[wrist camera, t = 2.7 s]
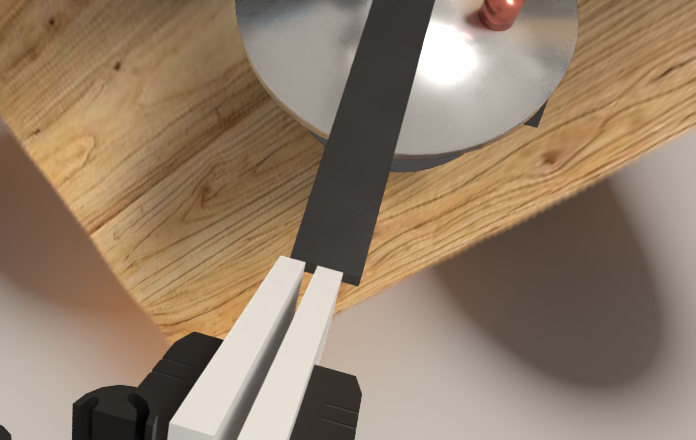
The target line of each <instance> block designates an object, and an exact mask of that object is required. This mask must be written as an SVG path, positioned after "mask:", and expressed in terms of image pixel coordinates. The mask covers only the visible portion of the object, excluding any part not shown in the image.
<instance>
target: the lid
mask: <svg viewBox="0 0 696 440" xmlns="http://www.w3.org/2000/svg"><path fill="white" fill-rule="evenodd" d="M235 9H236V15H237V22H238V28H239V32H240V36H241V39H242V43H243V46H244V49H245V52H246V56H247V59H248V61H249V63H250V65H251V67H252V69H253V71H254V73H255V75H256V77H257V79H258V80H259V81H260V83H261V84H262V86H263V87H264V89H265V90H266V91H267V93H268V94H269V95H270V96H271V97H272V99H273V100H274V101H275V102H276V103H277V104H278V105H279V106H280V107H281V108H282V109H283V110H284V111H285V112H286V113H288V114H289V115H290V116H291V117H292V118H294V119H295V120H296V121H297V122H299V123H300V124H301V125H303V126H304V127H306V128H308V129H309V130H311V131H312V132H314V133H316V134H317V135H319V136H321V137H323V138H325V139H327V140H328V141H327V144H326V147H325V150H324V154H323V157H322V160H321V163H320V166H319V169H318V172H317V175H316V179H315V182H314V185H313V188H312V191H311V194H310V197H309V200H308V203H307V207H306V210H305V213H304V216H303V219H302V222H301V225H300V228H299V231H298V235H297V238H296V241H295V244H294V247H293V250H292V253H291V256H290V258H291V259H295V260H299V261H302V262H306V263H305V268H304V272H308V273H311V274H314V273H315V271H316V269H317V266H320V267H324V268H328V269H331V270H335V271H339V272H342V273H343V276H342V280H341V282H344V283H348V284H351V285H355V286H359V283H360V280H361V276H362V273H363V269H364V265H365V261H366V258H367V254H368V250H369V246H370V243H371V239H372V235H373V231H374V228H375V224H376V220H377V216H378V213H379V209H380V205H381V201H382V198H383V194H384V190H385V186H386V183H387V179H388V175H389V171H390V168H391V164H392V160H393V159H406V160H422V159H438V158H444V157H450V156H456V155H461V154H464V153H467V152H471V151H474V150H477V149H481V148H483V147H485V146H487V145H490V144H492V143H494V142H496V141H499V140H501V139H502V138H504V137H505V136H507V135H509V134H510V133H512V132H513V131H515V130H517V129H518V128H519V127H521V126H522V125H523V124H524V123H525V122H526V121H528V120H529V119H530V118H531V117H532V116H534V114H535V113H536V112H537V111H538V110H539V109H540V108H541V106H542V105H543V104H544V103H545V102H546V101H547V99H548V98H549V97H550V95H551V94H552V93H553V92H554V90H555V89H556V88H557V86H558V84H559V83H560V81H561V80H562V78H563V76H564V75H565V73H566V71H567V69H568V67H569V64H570V62H571V59H572V57H573V54H574V50H575V46H576V42H577V37H578V22H579V16H578V7H577V0H236V1H235Z"/></svg>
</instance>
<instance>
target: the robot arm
mask: <svg viewBox="0 0 696 440" xmlns="http://www.w3.org/2000/svg"><path fill="white" fill-rule="evenodd" d="M305 263H306V262H302V261H299V260H295V259H291V258H288V257H284V256H281V255H280V257H279V258H278V260H277V261H276V263H275V264H274V266H273V267H272V269H271V270H270V272H269V273H268V275H267V276H266V278H265V279H264V281H263V282H262V284H261V285H260V287H259V288H258V290H257V291H256V293H255V295H254V296H253V298H252V299H251V301H250V302H249V304H248V305H247V307H246V308H245V310H244V311H243V313H242V314H241V316H240V317H239V319H238V320H237V322H236V323H235V325H234V326H233V328H232V329H231V331H230V332H229V334H228V335H227V337H226V338H225V340H222V339H219V338H215V337H212V336H208V335H205V334H201V333H198V332H192V333H190V334H189V335H187V336H185V337H183V338H181V339H179V340H178V341H176V342H175V343H174V344H173V345H172V346H171V348H170V349H169V350H168V351H167V352H166V354H165V355H164V356H163V359H162V360H160V361H159V362H158V363H157V364H156V366H155V367H154V368H153V370H152V372H151V373H149V374H148V375H147V377H146V378H145V379H144V380H143V382H142V383H141V384H140V385H139V386H138V388H137V387H133V386H125V385H115V386H108V387H102V388H99V389H97V390H94V391H92V392H89V393H87V394H85V395H84V396H82V397H81V398H80V399H79V400H77V401H76V402H75V403H73V417H72V440H354V439H355V433H356V427H357V421H358V413H359V409H360V403H361V397H362V393H361V390H360V387H359V384H358V381H357V378H356V376H353V375H350V374H346V373H343V372H339V371H336V370H332V369H329V368H325V367H322V366H319V362H320V359H321V356H322V353H323V350H324V346H325V342H326V338H327V334H328V331H329V327H330V322H331V319H332V315H333V311H334V307H335V303H336V299H337V295H338V291H339V287H340V284H341V280H342V276H343V273H342V272H339V271H335V270H331V269H328V268H324V267H320V266H317V269H316V271H315V273H314V275H313V277H312V279H311V281H310V284H309V286H308V288H307V290H306V292H305V294H304V297H303V299H302V301H301V303H300V305H299V307H298V309H297V312H296V314H295V316H294V313H295V309H296V304H297V300H298V295H299V290H300V286H301V281H302V277H303V272H304V268H305ZM0 440H11V434H10V433H9V432H8V431H7V430H6V429H5V428H4V427H3V426H2V425H0Z"/></svg>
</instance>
